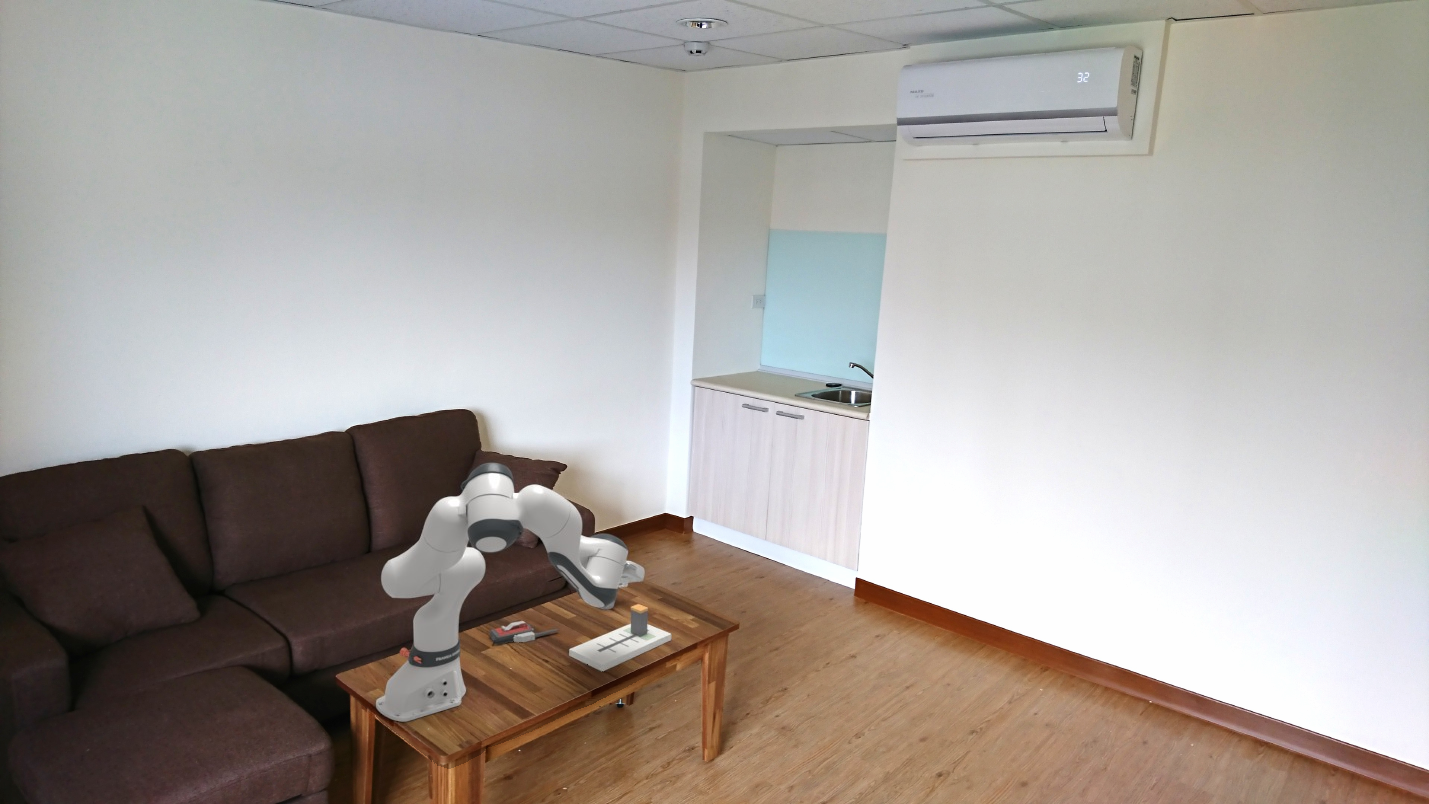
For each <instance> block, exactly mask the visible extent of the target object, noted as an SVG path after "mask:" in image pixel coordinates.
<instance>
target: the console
mask: <svg viewBox="0 0 1429 804" xmlns="http://www.w3.org/2000/svg"><path fill="white" fill-rule="evenodd" d="M670 641H672V633H670V632H668V631H666V630H663V629H660V628H658V627H655V626H653V625H651V624H648V623H647V634H645V635H642V636H638V635H636V634H633V633H631V623H629V624H627V625H623V626H622V627H619V628H616V629H615V630H612V631H609V632H608V633H605V634H603V635H600V636H598V637H595V638H592V639H590V640H588V641H586V642H583V643H581V644H579V645H576V646H574V647H571V648H569V650H568V651H569V653H568V655H569V657H572V658H573V659H575V660H577V661H579V662H581V663H583V664H585V665H587V664H588V666H589V667H592V668H594V669H595V670H598V671H599V672H602V671H603V672H604V671H607V670H609V669H611V668H613V667H616V666H617V665H620V664H622V663H624V662H627V661H629V660H631V659H633V658H635V657H637V656H639V655H642V654H643V653H644V654H645V653H646V652H648V651H650V650H653V649H654V648H655V649H656V647H659V646H661V645H664V644H666V643H668V642H670Z"/></svg>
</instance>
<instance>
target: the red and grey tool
mask: <svg viewBox="0 0 1429 804" xmlns="http://www.w3.org/2000/svg"><path fill="white" fill-rule="evenodd" d="M556 632H559V629H558V628H555V629H554V628H553V629H550V630H545V631H542V632H541V631H540V632H534V628H533V627H532V625H531V624H529V623H527V622H525V621H524V620H519V621H515V622H511V623H509V624H508V625H507V626H504V625H501V626H500V627H497V628H493V629H490V630H489V637H490V638H489V639H491V641H492V644H493V645H496V644H497V646H499V645H505V644H508V642H509V643H513V641H514V643H519V642H523V643H526V642H532V641H535V640H536V638H538V637H541V636H546V635H550V634H551V633H556Z"/></svg>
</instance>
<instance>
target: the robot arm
mask: <svg viewBox="0 0 1429 804" xmlns="http://www.w3.org/2000/svg"><path fill="white" fill-rule="evenodd" d="M514 486H515V480H514V476H513V473H512V470H511V469H509V467H508V466H507V465H505V464H501V463H499V462H498V463H497V462H486V463H483V464H481V465H479V466H477V467H476V468H474V469H473V470H472V471H471V472H470V474H469V476H468V477H467V479H466V480H464V481H463V482H462V483H461V485H460V489H461V491H462V492H461V494H460V495H457V496H447V497H443V498H440V499H439V500H438V501H437V502H436V503H435V504H434V505H433V507H432V508H431V510H430V512H429V513H428V515H427V517H426V519H425V521H424V525H423V529H422V532H421V535H420V538H418V539H419V540H418V541H417V542H416V543H415V544H414V545H412V546H411V547H410V548H409V549H408V550H406V551H404V552H403V553H401V554H400V555H398V556H396V557H393V558H391V559H389V560H387V562H386V563H384V565H383V568H382V571H381V576H380V580H381V586H382V588H383V590H384V592H385V593H386V594H387V595H388V596H389V597H391V598H393V599H412V598H415V599H416V598H419V597H426V596H431V595H433V597H432V598H431V599H430V600H429V601H428V602H426V603H425V604H424V605H422V606H421V607H420V608H419V609H418V610H417V611H416V612H415V615H414V617H413V620H412V621H413V622H412V623H413V624H412V625H413V643H412V646H411V649H410V650H409V649H407V648H406V647H402V648H401V649H400V650H399V655H400V656H402V657H404V658H407V660H406V661H405V662H404V664H403V665H402V666H400V668H398V670H397V671H396V672H395V673H394V674H392V676H391V677H390V678H389V679H388V680H387V683H386V685H385V691H384V695H382V696H380V697H379V698H377V699H376V700H375V701H376V702H375V708H376V710H377V711H378V712H379V713H380V714H382V715H383V716H384V717H386V718H388V719H390V720H393V721H396V722H397V721H398V722H404V723H406V722H410V721H412V720H416V719H419V718H423V717H425V716H426V717H427V716H429V715H432V714H436V713H439V712H441V711H445V710H449V709H452V708H455V707H458V706H461V704H462V698H463V697H464V696H465V694H466V691H467V687H466V686H465V683H464V682H465V681H464V678H463V675H462V670H461V669H462V668H461V663H460V662H461V661H460V657H461V640H460V638H459V623H460V621H459V620H460V613H461V609H462V606H463V604H464V601H465V600H466V598H467V597H468V595H469V594H470V592H471V591H472V590H473V589H474V588H475V587H476V586H477V585H478V584H480V582H481V581H482V580H483V578H484V576H485V573H486V560H485V558H484V555H482V553H484V554H496V553H499V552H502V551H504V550H506V549H507V548H510V546H512V545H513V544H514V543H515V541H518V540H519V539H521V537H522V536H523V534H524V532H525V531H524V529H525V530H528V531H530V532H532V533H533V534H534V535H536V536H537V537H538V538H540V540H541V541H542V543H543V545H544V547H545V549H546V552H547V557H548V561H549V562H550V564H551V565H552V566H553V567H554V569H555V570H556V571H558V573H559V574H560V575H561V576H562V577H563V578H564V579H565V581H567V583H568V584H570V586H571V587H573V589H574V590H575V591H576V592H577V594H578V596H579V597H580V599H581V600H582V601H583V602H584V603H587V604H588V605H590V606H592V607H596V608H599V607H600V608H603V607H606V606H608V605H609V604H611V603H612V602H614V601H615V602H616V600H617V595H618V591H619V588H625V587H626V588H627V587H628V586H629V583H637V582H638V583H640V582H643V581H644V578H645V574H646V572H645V568H644V567H643V566H642V565H640V564H638V563H636V562H634V561H631V560H627V559H628V554H629V549H628V547H627V545H626V544H625V543H624V541H623V540H622V539H620V537H617V536H615V535H613V534H610V533H598V534H597V533H596V534H594V535H591V536H589V537H587V536H584V535H582V534H583V519H582V516H581V513H580V512H579V510H578V509H577V508H576V505H574V504H573V503H572V502H570V501H569V500H568V499H566V497H563V496H562V495H561V494H559V493H557V492H556V491H554V490H552V489H550V488H548V487H546V486H542V485H539V484H530V485H526V486H525V487H524V488H523V487H522V489H521V490H519V492H515V487H514ZM469 543H470V546H471V547H469V546H468V544H469ZM600 608H599V609H600Z"/></svg>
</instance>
